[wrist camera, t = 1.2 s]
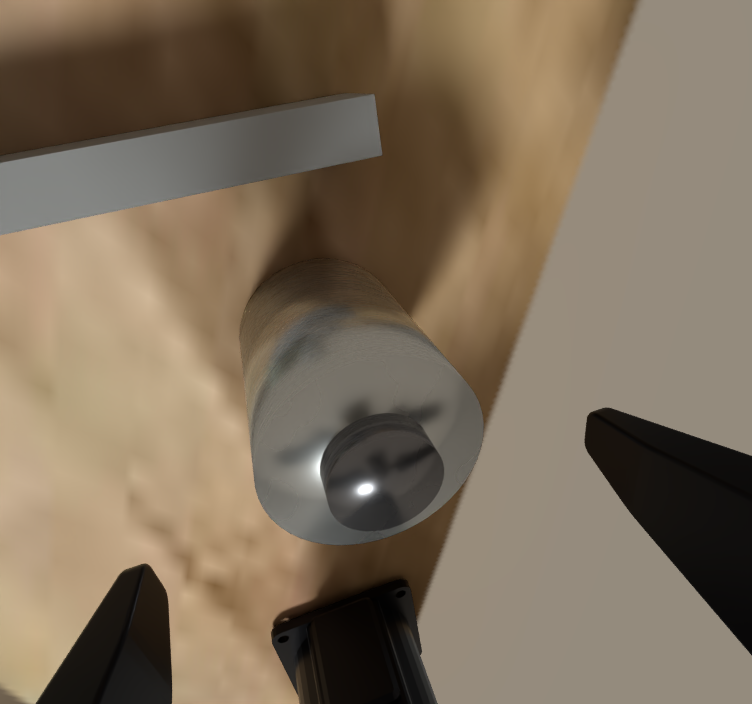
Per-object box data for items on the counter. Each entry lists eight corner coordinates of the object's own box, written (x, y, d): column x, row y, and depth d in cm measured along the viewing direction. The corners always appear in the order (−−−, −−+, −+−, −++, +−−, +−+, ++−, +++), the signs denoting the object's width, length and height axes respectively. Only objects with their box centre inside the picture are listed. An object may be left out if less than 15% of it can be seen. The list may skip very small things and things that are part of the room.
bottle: (404, 377, 17) (502, 526, 11) (264, 419, 16) (293, 604, 10) (385, 241, 14) (501, 344, 8) (217, 281, 13) (219, 429, 8)
